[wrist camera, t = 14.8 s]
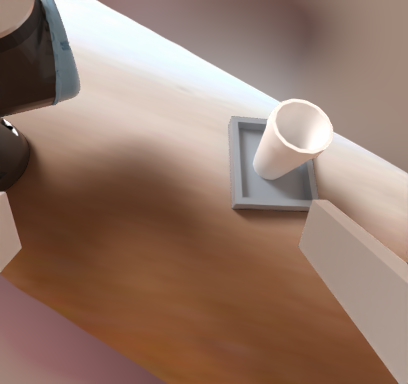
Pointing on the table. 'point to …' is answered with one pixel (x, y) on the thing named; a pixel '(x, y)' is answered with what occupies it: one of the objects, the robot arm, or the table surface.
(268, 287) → the table surface
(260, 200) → the tray
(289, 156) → the foam cup
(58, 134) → the table surface
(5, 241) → the robot arm
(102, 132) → the table surface
